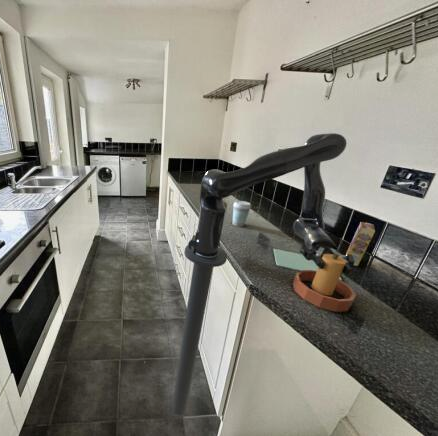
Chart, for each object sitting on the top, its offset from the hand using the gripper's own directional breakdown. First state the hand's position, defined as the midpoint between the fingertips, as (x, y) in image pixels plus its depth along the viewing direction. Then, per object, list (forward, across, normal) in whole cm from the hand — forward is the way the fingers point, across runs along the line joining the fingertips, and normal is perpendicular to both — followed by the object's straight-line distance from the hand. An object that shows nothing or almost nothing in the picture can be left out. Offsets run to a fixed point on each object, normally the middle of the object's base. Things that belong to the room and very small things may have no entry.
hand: (334, 268), depth 65 cm
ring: (-3, 0, +11) cm, 11 cm away
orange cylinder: (-3, 0, +9) cm, 9 cm away
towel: (-22, -1, +11) cm, 24 cm away
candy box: (-34, +18, +11) cm, 40 cm away
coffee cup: (-51, -26, +11) cm, 58 cm away
